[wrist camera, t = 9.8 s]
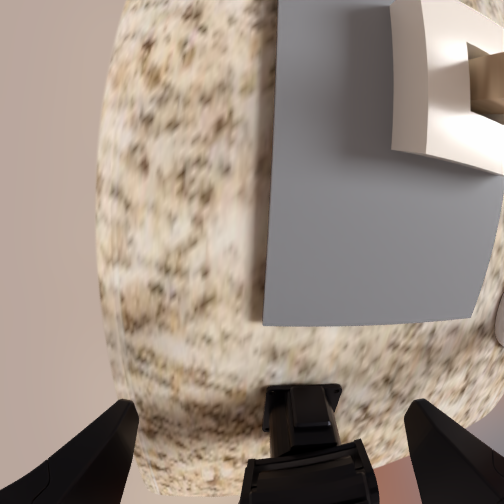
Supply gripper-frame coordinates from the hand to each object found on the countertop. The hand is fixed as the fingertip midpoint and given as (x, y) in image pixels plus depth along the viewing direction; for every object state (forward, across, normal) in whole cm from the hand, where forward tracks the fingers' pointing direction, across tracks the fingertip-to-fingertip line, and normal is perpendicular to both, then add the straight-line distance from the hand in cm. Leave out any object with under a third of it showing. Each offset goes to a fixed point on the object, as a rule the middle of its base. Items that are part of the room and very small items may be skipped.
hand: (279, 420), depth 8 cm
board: (+12, -9, -8) cm, 17 cm away
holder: (+11, -12, -13) cm, 21 cm away
